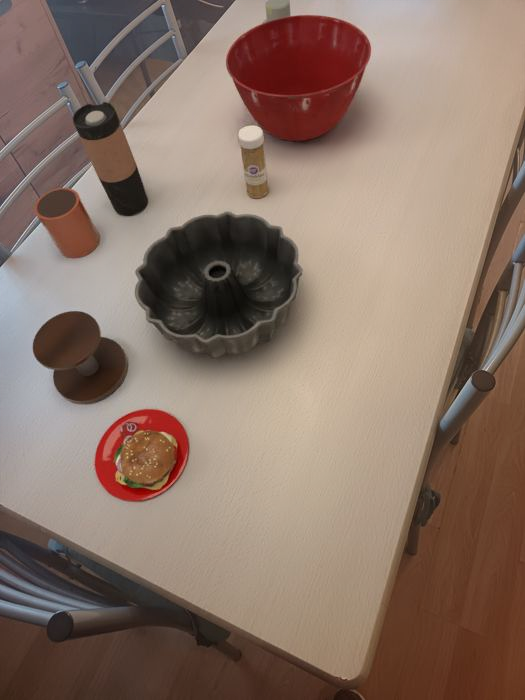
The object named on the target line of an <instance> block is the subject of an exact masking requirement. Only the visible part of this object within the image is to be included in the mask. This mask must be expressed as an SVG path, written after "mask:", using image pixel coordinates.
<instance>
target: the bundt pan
mask: <svg viewBox="0 0 525 700" xmlns="http://www.w3.org/2000/svg"><path fill="white" fill-rule="evenodd" d="M143 255H144V256H143V259H142V264H140V265H139V266H138V267H137V268H136V269H135V271H134V274H135V276H136V278H137V279H138V281H137V282H136V284H135V288H134V296H135V300H136V302H137V303H138V305H139V307H141V308H142V310H144V311H145V318H146V321H147V322H148V323H150V324H153V325H154V327H155V328H156V329H157V331H159V332H160V334H161V335H162V336H163V338H165V339H166V340H168V341H171V342H175V343H176V344H177V345H178V346H179V347H180V348H181V349H182V350H184V351H185V352H188V353H190V354H195V355H201V354H205V353H206V354H208V355H209V356H210V357H212V358H213V359H216V360H217V359H219V358H221V357H222V356H223V355H225V354H226V353H228V354H230V355H236V356H237V355H243V354H246V353H248V352H250V351H252V350H253V349H254V347H255V346H257V344H258V343H269V342H270V341H271V340H272V337H273V335H274V331H276V330H278V329H280V328H281V327H282V326H284V324H286V322H287V321H288V319H289V317H290V314H291V310H292V303H293V302H294V301H295V299H296V297H297V292H298V288H299V282H300V278H301V277H302V275H303V272H304V271H303V268H302V267H301V266H300V264H299V263H298V262H299V248H298V246H297V244H296V243H295V242H294V240H292V239H291V238H290V237H288V236H286V235H285V234H284V230H283V227H282V226H280V225H272V224H270V223H269V221H267V220H266V219H265V218H263V217H262V216H259V215H256V214H252V213H244V214H243V213H242V214H235V213H233V212H231V211H229V210H227V211H226V210H225V211H223V212H222V213H219V214H201V215H197V216H194V217H193V218H190V219H188V220H187V221H185V222H184V223H183V224H181V225H179V226H174V227H173V226H172V227H169V228H168V229H167V231H166V234H165V235H164V236H163V237H161V238H159V239H157V240H155V241H154V242H153V243H152V244H150V245H149V246H148V248H147V249H146V251H145V253H144V254H143Z"/></svg>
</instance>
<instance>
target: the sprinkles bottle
mask: <svg viewBox="0 0 525 700" xmlns="http://www.w3.org/2000/svg"><path fill="white" fill-rule="evenodd" d="M237 137H238V144H239V146H240V151H241V152H240V153H241V159H242V166H243V175H244V180H245V184H246V194H247V195H248V196H249V197H250V198H252V199H262V198H264V197H266V196H267V195H268V194H269V191H270V188H269V183H268V172H267V171H268V170H267V160H266V152H265V146H264V144H265V137H264V131H263V128H262V127H261V126H259V125H258V126H257V125H252V124H251V125H246V126H243V127H242V128H241V129H240V130H239V131H238V133H237Z"/></svg>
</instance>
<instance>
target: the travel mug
mask: <svg viewBox="0 0 525 700" xmlns="http://www.w3.org/2000/svg"><path fill="white" fill-rule="evenodd" d="M119 118H120V117H119V116H118V114H117V111H116V108H115V107H114V105H112V103H110V102H107V101H103V102H102V103H100V104H92V103H87V104H84V105H82V106H81V107H79V108H78V109H77V110H76V111H75V112H74V113H73V116H72V122H73V125H74V127H75V130H76V132H77V134H78V136H79V138H80V140H81V142H82V145H83V147H84V150H85V151H86V154H87V156H88V158H89V160H90V163H91V165H92V168H93V169H94V171H95V174H96V176H97V178H98V180H99V182H100V184H101V186H102V188H103V190H104V192H105V194H106V195H107V197H108V199H109V201H110V203H111V205H112V207H113V209H114V211H115V212H116V213H117V214H118V215H120V216H123V217H131V216H135V215H137V214H140V213H141V212H143V211H144V210H145V209H146V207H147V206H148V203H149V199H148V195H147V191H146V189H145V186H144V183H143V179H142V176H141V174H140V171H139V167H138V165H137V162H136V160H135V156H134V154H133V152H132V150H131V147H130V144H129V142H128V139H127V136H126V134H125V132H124V128H123V126H122V123H121V121H120V119H119Z"/></svg>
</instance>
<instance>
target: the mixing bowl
mask: <svg viewBox="0 0 525 700" xmlns="http://www.w3.org/2000/svg"><path fill="white" fill-rule="evenodd" d="M262 23H263V22H262ZM262 23H260V24H258V25H256V26H253V27H252V28H250V29H248V30H247V31H246V32H243V34H241V35H240V36H239V37H237V39H236V40H235V41H234V42H233V43H232V44H231V46H230V47H229V49H228V51H227V53H226V58H225V59H226V60H225V67H226V71H227V73H228V75H229V76H230V78H231V79H232V81H233V84H234V86H235V89H236V90H237V93H238V95H239V97H240V99H241V100H242V102H243V104H244V106H245V107H246V109H247V111H248V112H249V114H250V115H251V116H252V118H253V119H254V121H255V122H256V124H258V126H259V127H260V128H261V129H262V130H264V131H265V132H266V133H268V134H269V135H271V136H273V137H275V138H277V139H281V140H285V141H290V142H303V141H310V140H312V139H316V138H319V137H322V135H325V134H326V133H328V132H330V131H331V130H332V129H333V128H334V127H335V126H337V125H338V124H339V123H340V121H341V120H342V119H343V117H344V116H345V114H346V112H347V111H348V110H349V108H350V106H351V104H352V102H353V100H354V99H355V97H356V94H357V92H358V90H359V87H360V84H361V82H362V79H363V76H364V73H365V70H366V68H367V65H368V63H369V62H370V58H371V55H372V46H371V42H370V40H369V38H368V36H367V35H366V34H365V32H364V31H362V30H361V29H360V28H359V27H357V26H356V25H355V24H352V23H351V22H348V21H346V20H343V19H340V18H336V17H332V16H327V15H321V14H320V15H318V14H298V15H290V16H289V17H283V18H279V19H275V20H272V21H269V22H266V23H263V24H262Z"/></svg>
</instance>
